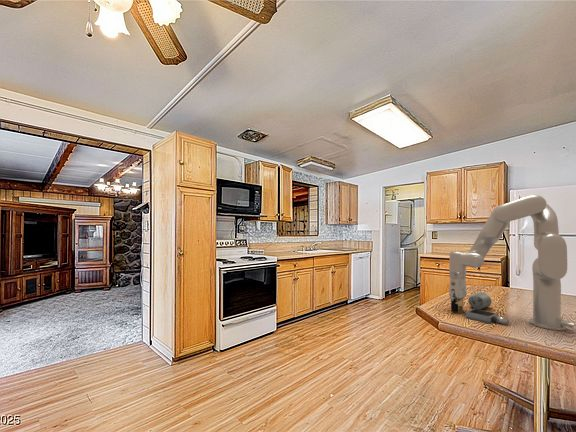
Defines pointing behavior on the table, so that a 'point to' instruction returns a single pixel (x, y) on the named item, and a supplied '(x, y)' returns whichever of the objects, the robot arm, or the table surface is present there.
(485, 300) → the grey-teal rounded cylinder
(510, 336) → the table surface
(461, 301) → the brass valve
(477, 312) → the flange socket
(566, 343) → the table surface
